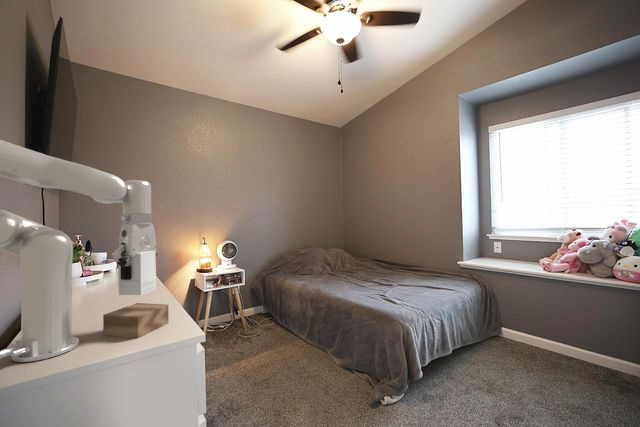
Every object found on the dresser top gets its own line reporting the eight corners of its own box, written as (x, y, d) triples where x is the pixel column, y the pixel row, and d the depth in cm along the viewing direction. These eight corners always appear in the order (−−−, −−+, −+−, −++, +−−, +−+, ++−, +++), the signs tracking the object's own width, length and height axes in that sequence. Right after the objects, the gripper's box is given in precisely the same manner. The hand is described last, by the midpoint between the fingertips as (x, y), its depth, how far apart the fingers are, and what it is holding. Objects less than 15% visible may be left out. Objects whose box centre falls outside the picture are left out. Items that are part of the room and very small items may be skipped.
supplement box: (157, 289, 93) (156, 250, 93) (140, 295, 85) (140, 253, 85) (135, 289, 93) (135, 250, 93) (117, 295, 86) (117, 253, 86)
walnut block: (138, 338, 82) (137, 317, 82) (103, 335, 84) (103, 314, 84) (168, 323, 94) (168, 304, 94) (137, 321, 96) (137, 303, 96)
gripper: (123, 220, 80) (123, 283, 80) (168, 219, 97) (168, 271, 97) (100, 220, 82) (101, 282, 82) (149, 220, 99) (149, 271, 99)
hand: (137, 276), depth 89 cm, fingers closed on supplement box, 7 cm apart
